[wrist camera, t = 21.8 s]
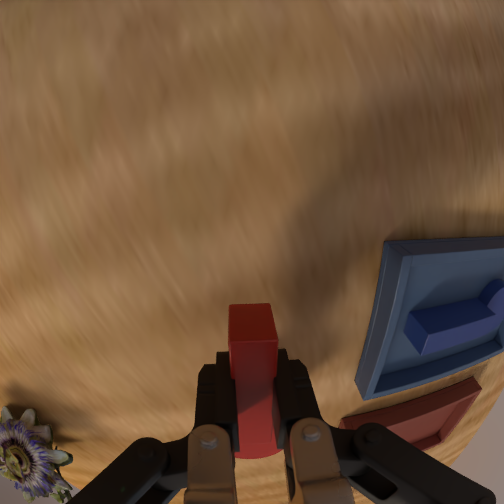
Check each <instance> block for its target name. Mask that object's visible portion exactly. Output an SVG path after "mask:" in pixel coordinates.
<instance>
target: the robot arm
mask: <svg viewBox="0 0 504 504" xmlns="http://www.w3.org/2000/svg"><path fill="white" fill-rule="evenodd" d="M272 420H273V426H274V433H275V439H276V446H277V449H284V454H285V461H284V467H285V475H286V483H287V492H288V500H289V504H355V501H354V497H353V493H352V489H351V486H352V487H353V488H355V489H356V490H357V491H359V492H360V493H362V494H363V495H364V496H366V497H367V498H368V499H370V500H371V501H373V502H374V503H375V504H496V497H495V495H494V493H493V492H492V491H491V490H489V489H487V488H485V487H483V486H481V485H479V484H478V483H476V482H474V481H472V480H470V479H469V478H467V477H465V476H463V475H461V474H459V473H458V472H456V471H454V470H453V469H451V468H449V467H448V466H446V465H444V464H443V463H441V462H439V461H438V460H436V459H434V458H433V457H431V456H429V455H428V454H426V453H425V452H423V451H421V450H420V449H418V448H417V447H415V446H413V445H412V444H410V443H409V442H407V441H406V440H404V439H403V438H401V437H400V436H398V435H397V434H395V433H394V432H392V431H391V430H389V429H388V428H386V427H385V426H383V425H381V424H379V423H374V422H370V423H365V424H363V425H361V426H359V427H358V428H357V429H356V430H353V429H340V428H335V427H333V426H330V425H329V424H327V423H326V422H325V421H324V420H323V418H322V417H321V414H320V411H319V408H318V404H317V401H316V398H315V394H314V391H313V388H312V384H311V381H310V379H309V374H308V371H307V368H306V366H305V365H304V364H303V363H302V362H301V361H300V360H299V359H296V360H289V359H288V355H287V351H286V349H285V348H283V349H278V358H277V374H276V377H274V380H273V397H272ZM235 452H240V444H239V427H238V410H237V397H236V384H235V379H231V373H230V360H229V351H228V352H217V355H216V364H204V366H203V367H202V369H201V370H200V372H199V375H198V386H197V398H196V411H195V423H194V427H193V429H192V431H191V432H190V433H189V434H188V435H187V436H186V437H184V438H182V439H179V440H176V441H171V442H167V443H162V442H161V441H159V440H157V439H155V438H150V437H145V438H140V439H138V440H136V441H134V442H133V443H132V444H131V445H130V446H129V447H128V448H127V449H126V450H125V451H124V452H123V453H122V454H120V455H119V456H118V457H117V458H116V459H115V460H114V461H113V462H112V463H111V464H110V465H109V466H108V467H106V468H105V469H104V470H103V471H102V472H101V473H100V474H99V475H98V476H97V477H95V478H94V479H93V480H92V481H91V482H90V483H89V484H88V485H86V486H85V487H84V488H83V489H82V490H81V491H80V492H79V493H77V494H76V495H75V496H74V497H73V498H71V499H70V500H69V501H68V502H67V503H66V504H168V503H169V502H170V501H171V500H172V498H173V497H174V496H175V495H176V494H177V493H178V492H179V491H180V489H182V488H186V487H187V489H186V490H185V493H184V504H238V501H237V491H236V482H235V472H234V468H235Z"/></svg>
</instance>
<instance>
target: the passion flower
mask: <svg viewBox="0 0 504 504" xmlns="http://www.w3.org/2000/svg"><path fill="white" fill-rule="evenodd" d="M52 444H53V431H52V428H51V425H50V424H49V425H47V424H45V425H41V424H40V422H39V420H38V416H37V413H36V411H35V409H33V408H31V409H27V410H26V411H25V412H24V413H23V415H22V417H21V418H20V419H19V420H16V419H15V418H14V417H13V415H12V413H11V411H10V410H9V409H8V407H7V406H3V408H2V411H1V417H0V468H1V469H0V475H2V476H4V477H6V478H8V479H10V480H13V481H15V482H16V483H15V488H16V489H18V488H20V489H21V491H22V492H23V497H24V498H25V500H26V501H27V502H28V503H30V502H32V501H33V500H34V499H35V497H36V496H37V497H39V496H43V497H48V496H49V493H52V492H53V491H52V488H55V489H56V490H57V492H58V494H55V493H53V494H50V495H51V496H52V497H53V498H54V499H56V500H57V501H58V502H59V503H64V498H65V497H67V499H68V501H69V500H70V499H71V498H72V497H71V494H70V492H69V490H72V487H71V486H70V485H69V484H68V483H67V482H66V481H65V480H64V479H63V477H62V476H61V473H60V470H59V467H60V466H65V465H68V464H70V463H72V462H73V456H72V454H69V453H68V452H66V451H63V450H57V446H56V448H55V450H53V449H52ZM55 469H56V470H57V472H58V473H57V472H55V471H54V470H55ZM62 489H63V490H64V491H65V493H64V494H62V493H61V490H62Z"/></svg>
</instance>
